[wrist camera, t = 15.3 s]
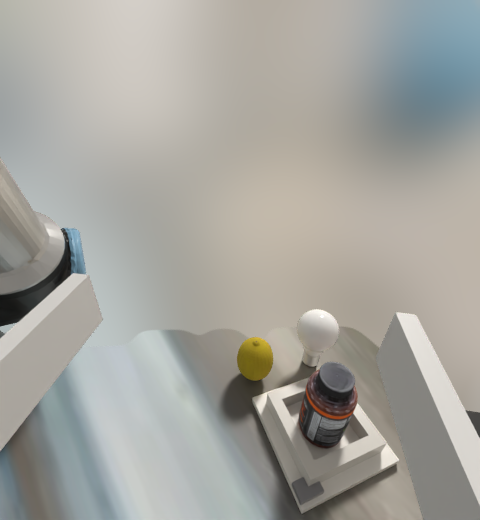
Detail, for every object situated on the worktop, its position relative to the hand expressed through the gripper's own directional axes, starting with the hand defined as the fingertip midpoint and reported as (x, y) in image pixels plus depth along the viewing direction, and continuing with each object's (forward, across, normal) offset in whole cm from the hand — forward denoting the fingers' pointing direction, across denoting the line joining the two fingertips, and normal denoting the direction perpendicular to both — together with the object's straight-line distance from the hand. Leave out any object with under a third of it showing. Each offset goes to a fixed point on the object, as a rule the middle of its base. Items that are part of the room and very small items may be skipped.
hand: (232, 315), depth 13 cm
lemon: (+20, 0, -32) cm, 38 cm away
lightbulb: (+24, +10, -32) cm, 41 cm away
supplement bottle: (+13, +10, -31) cm, 35 cm away
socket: (+13, +10, -32) cm, 36 cm away
